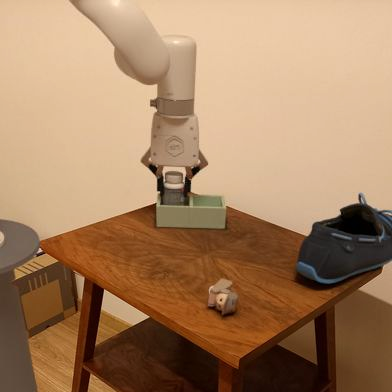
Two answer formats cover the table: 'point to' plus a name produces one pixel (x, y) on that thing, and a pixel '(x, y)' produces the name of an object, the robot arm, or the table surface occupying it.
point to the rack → (193, 212)
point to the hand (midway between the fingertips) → (173, 194)
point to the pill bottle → (173, 189)
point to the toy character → (223, 296)
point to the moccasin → (347, 244)
